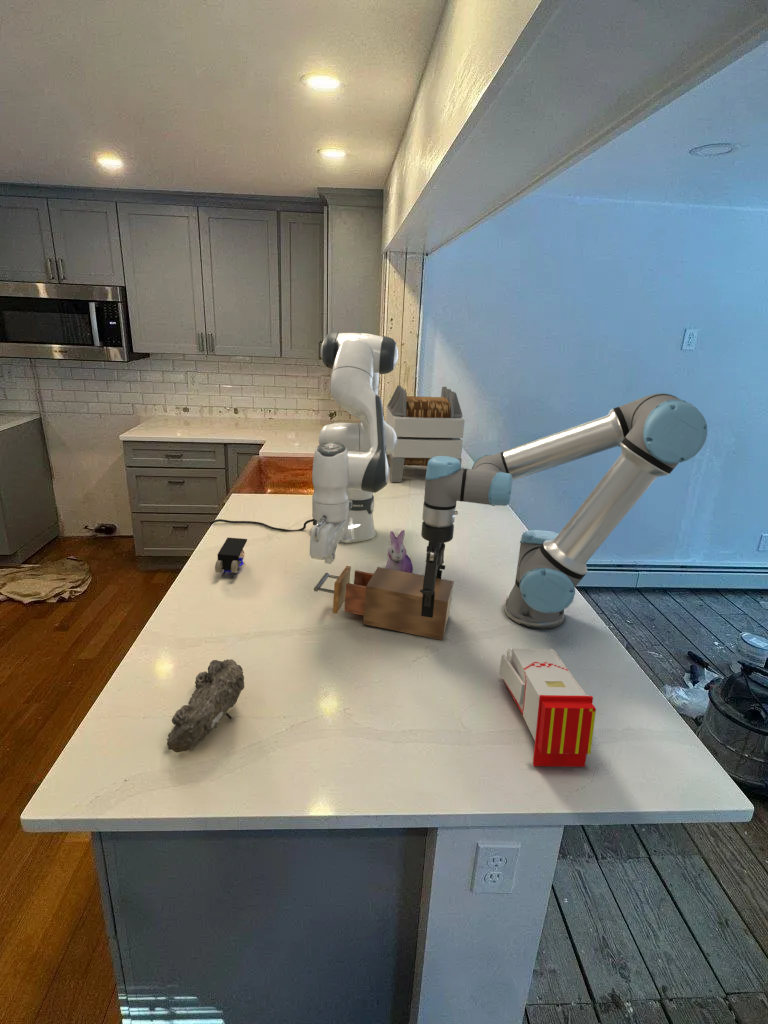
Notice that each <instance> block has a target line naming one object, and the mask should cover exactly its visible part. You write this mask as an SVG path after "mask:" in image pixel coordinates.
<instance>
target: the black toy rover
mask: <svg viewBox="0 0 768 1024" xmlns="http://www.w3.org/2000/svg"><path fill="white" fill-rule="evenodd" d="M247 542H248V538H240V537H226V539H225V541H224V543H223V544H222V546H221V547H220V549H219V551H218V552H217V560H216V562H215V564H214V572H215V573H221V577H222V578H224V577H225V576H226V574H227V573H230V574H231V573H232V574H231V578H234V577H235V575H236V573H237V572H239V571H240V567H242V566H243V565H244V564H245V562H244V558H245V551H244V547H245V546H246V544H247Z"/></svg>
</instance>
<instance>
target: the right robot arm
mask: <svg viewBox="0 0 768 1024" xmlns="http://www.w3.org/2000/svg"><path fill="white" fill-rule="evenodd" d="M707 438H708V423H707V420H706V417H705V416H704V415H703V413H702V412H701V411H700V410H699V409H698V408H697V407H696V406H694V404H692V403H691V402H688V401H686V400H683V399H681V398H679V397H677V396H675V395H673V394H670V393H664V392H663V393H652V394H650V395H646V396H643V397H640V398H637V399H635V400H632V401H630V402H627V403H625V404H621V405H620V406H616V407H614V408H611V409H610V410H609V412H608V414H607V415H604V416H601V417H598V418H596V419H593V420H590V421H586V422H584V423H581V424H578V425H575V426H572V427H570V428H566V429H563V430H561V431H558V432H555V433H551V434H550V435H547V436H543V437H541V438H538V439H535V440H533V441H529V442H527V443H523V444H520V445H517V446H515V447H512V448H509V449H507V450H504V451H501V452H498V453H494V454H493V453H485V454H482V455H480V456H478V458H477V459H476V460H475V461H474V463H473V465H472V468H471V469H469V468H463V467H462V465H461V466H460V461H459V460H458V459H457V458H453V457H449V456H436V457H432V458H431V459H430V460H429V461H428V464H427V466H426V473H425V479H424V495H423V505H422V518H421V519H422V523H421V533H420V534H421V537H422V539H424V540H425V541H427V542H428V544H427V546H426V553H425V555H426V558H425V567H424V568H425V569H424V574H423V575H424V582H423V590H421V589H420V592H421V593H422V594H423V600H422V611H421V616H425V617H431V618H432V617H433V609H434V598H435V591H434V589H435V583H436V578H440V579H442V576H443V571H445V570H446V565H445V564H444V563H445V560H444V559H445V558H444V557H445V549H446V543H449V542H451V541H452V540H453V538H454V531H455V525H454V523H455V519H456V516H458V514H459V512H458V511H459V510H456V509H457V502H464V503H465V502H466V503H472V504H479V505H487V506H493V507H494V506H498V507H499V506H500V507H501V506H503V507H505V506H508V505H509V504H510V502H511V498H512V497H511V496H512V491H513V490H512V489H513V482H514V481H515V480H518V479H522V478H525V477H528V476H530V475H534V474H537V473H540V472H543V471H546V470H550V469H552V468H555V467H558V466H561V465H564V464H567V463H570V462H573V461H577V460H580V459H582V458H583V459H584V458H586V457H589V456H592V455H595V454H599V453H602V452H604V451H608V450H611V449H614V448H618V447H619V448H620V450H621V452H620V455H619V456H618V458H617V459H616V460H615V462H613V464H612V465H611V466H610V468H609V469H608V470H607V471H606V473H605V474H604V475H603V476H602V478H601V479H600V480H599V481H598V483H597V484H596V486H595V487H594V488H593V489H592V491H591V492H590V493H589V495H588V496H587V497H586V499H585V500H584V501H583V503H582V504H581V505H580V506H579V507H578V509H577V510H576V511H575V512H574V514H573V515H572V516H571V517H570V518H569V520H568V521H567V523H566V524H565V525H564V527H563V528H562V529H561V530H560V532H559V533H558V532H555V531H550V530H544V529H531V530H525V531H524V532H523V533H522V535H521V537H520V540H519V544H520V545H519V552H518V558H517V567H516V573H515V579H514V580H515V581H514V585H513V587H512V589H511V591H510V592H509V595H508V596H506V598H505V601H504V614H505V615H506V616H507V617H508V619H510V620H511V621H513V622H515V624H518V625H521V626H523V627H526V628H533V629H538V630H546V629H553V628H557V627H559V626H561V624H562V623H563V622H564V618H565V609H567V608H568V607H569V606H570V605H571V604H572V603H573V601H574V598H575V595H576V587H577V586H578V584H579V583H580V582H581V581H582V580H583V578H584V577H585V576H586V575H587V573H588V567H587V562H588V561H589V560H590V559H591V558H592V556H593V555H594V554H595V553H596V551H597V550H598V549H599V548H600V547H601V546H602V544H603V543H604V542H605V541H606V540H607V539H608V537H609V536H610V535H611V534H612V532H613V531H614V530H615V529H616V527H617V526H618V525H619V524H620V523H621V521H622V520H623V519H624V518H625V516H626V515H627V514H628V513H629V512H630V511H631V510H632V508H633V507H634V506H635V505H636V503H637V502H638V501H639V499H640V498H641V497H642V496H643V495H644V493H646V491H647V490H648V489H649V487H650V486H651V485H652V484H653V483H654V482H655V480H656V479H657V478H658V477H664V476H669V475H670V474H671V473H672V472H673V471H674V469H675V468H676V467H677V466H678V465H679V464H680V463H684V462H687V461H689V460H690V459H692V458H694V457H695V456H696V455H698V454H699V453H700V451H701V450H702V449H703V447H704V445H705V444H706V441H707Z"/></svg>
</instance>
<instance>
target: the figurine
mask: <svg viewBox="0 0 768 1024" xmlns="http://www.w3.org/2000/svg"><path fill="white" fill-rule="evenodd" d="M405 535H406V531H405V530H404V529H402V530H401V531H400V532H399V534H398V535H397V536H396V533H394V531H393V530H390V532H389V546H388V548H387V550H386V551H387V553H386V554H387V556H388V559H387V560H386V563H385V568H386V569H392V570H397V571H402V572H408V573H414V572H413V570H414V567H413V566H414V565H413V562H412V559H411V558H410V556H409V555H408V554H407V549H406V545H405V544H404V540H405Z"/></svg>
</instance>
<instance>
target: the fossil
mask: <svg viewBox="0 0 768 1024" xmlns="http://www.w3.org/2000/svg"><path fill="white" fill-rule="evenodd" d="M243 670H244V669H243V667H242V665H240V664H237V662H236V661H235V660H234V659H232V658H231V659H227V658H226V659H224V660H223V661H222V660H217V659H212V660H211V661H210V663H209V665H208V666H207V671H201V672H199V673H198V674H197V675H196V676H195V680H194V684H195V685H194V687H195V689H194V690H193V693H192V694H191V697H190V698H189V700H188V704H184V705H182V706H181V707H180V709H177V710H176V711H175V713H174V715H173V716H172V718H171V723H172V724H173V727H172V730H171V731H170V732H168V734H167V738H166V741H167V742H166V745H167V749H168V750H169V751H173V752H174V753H176V754H178V753H182V752H188V751H189V752H192V751H193V750H195V748H196V747H197V746H199V744H200V743H201V742H203V741H204V740H205V739H206V738H207V737H208V736H209V735H210V734H211V733H212V732H214V730H215V729H217V727H218V726H219V724H220V722H221V721H222V720H223V719H224V718H225V716H226V717H227V719H229V720H233V717H232V715H230V714H229V710H230V709H231V708H234V706H235V704H236V703H237V702H238V699H239V697H240V695H241V693H242V691H243V690H245V689H244V688H245V675H244V671H243Z"/></svg>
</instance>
